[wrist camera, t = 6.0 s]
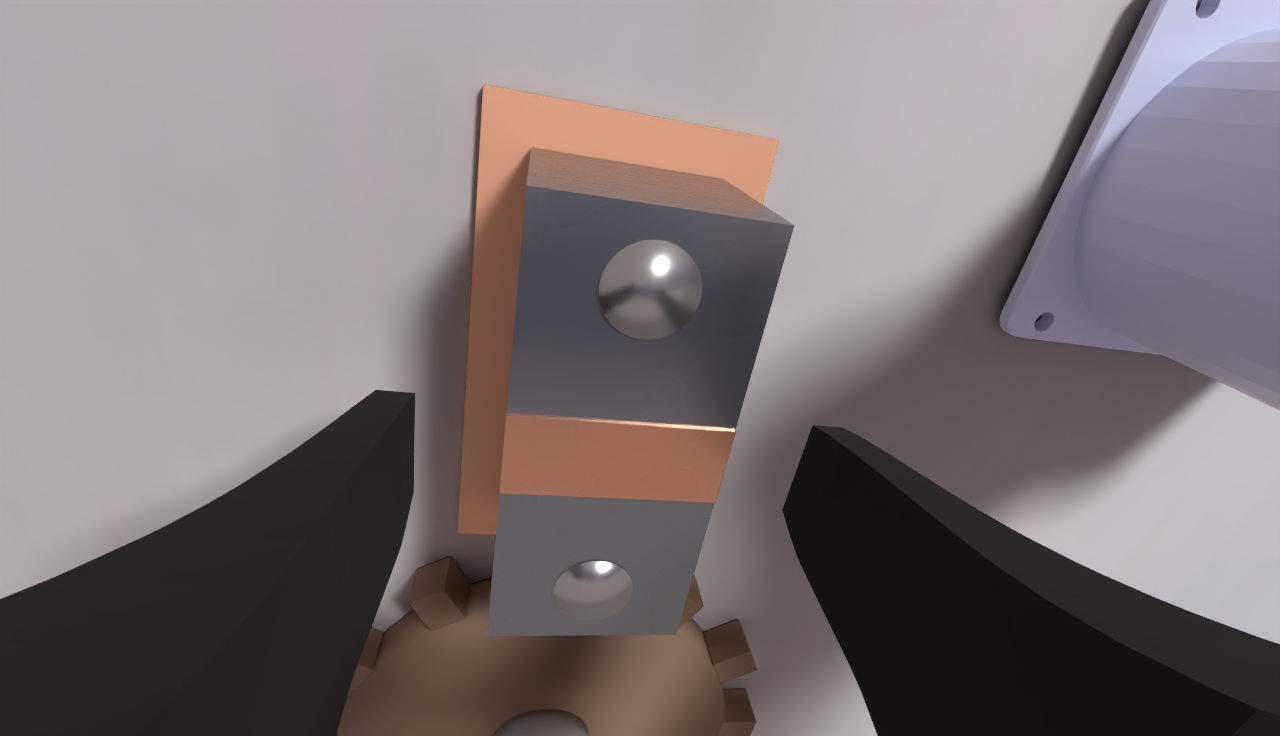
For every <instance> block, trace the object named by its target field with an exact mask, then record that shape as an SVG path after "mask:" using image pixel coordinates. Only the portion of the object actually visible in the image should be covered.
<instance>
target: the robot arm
mask: <svg viewBox="0 0 1280 736" xmlns="http://www.w3.org/2000/svg"><path fill="white" fill-rule="evenodd" d="M1197 2H1198V0H1150V2H1149V4H1148V6H1147V8H1146V10H1145V13H1144V15H1143V17H1142V19H1141V21H1140V23H1139V25H1138V27H1137V29H1136V31H1135V33H1134V36H1133V38H1132V40H1131V42H1130V44H1129V46H1128V48H1127V50H1126V52H1125V54H1124V57H1123V59H1122V61H1121V63H1120V65H1119V67H1118V69H1117V71H1116V73H1115V75H1114V77H1113V80H1112V82H1111V84H1110V86H1109V88H1108V90H1107V92H1106V94H1105V96H1104V98H1103V101H1102V103H1101V105H1100V107H1099V109H1098V111H1097V113H1096V115H1095V117H1094V119H1093V121H1092V124H1091V126H1090V128H1089V130H1088V132H1087V134H1086V136H1085V138H1084V140H1083V142H1082V145H1081V147H1080V149H1079V151H1078V153H1077V155H1076V157H1075V159H1074V161H1073V163H1072V165H1071V168H1070V170H1069V172H1068V174H1067V176H1066V178H1065V180H1064V182H1063V184H1062V186H1061V189H1060V191H1059V193H1058V195H1057V197H1056V199H1055V201H1054V203H1053V205H1052V207H1051V209H1050V212H1049V214H1048V216H1047V218H1046V220H1045V222H1044V224H1043V226H1042V228H1041V230H1040V233H1039V235H1038V237H1037V239H1036V241H1035V243H1034V245H1033V247H1032V249H1031V251H1030V253H1029V256H1028V258H1027V260H1026V262H1025V264H1024V266H1023V268H1022V270H1021V272H1020V274H1019V277H1018V279H1017V281H1016V283H1015V285H1014V287H1013V289H1012V291H1011V293H1010V295H1009V297H1008V300H1007V302H1006V304H1005V306H1004V308H1003V310H1002V312H1001V315H1000V319H999V321H1000V326H1001V328H1002V329H1003V330H1004V331H1006V332H1007V333H1009V334H1011V335H1013V336H1016V337H1020V338H1028V339H1036V340H1044V341H1052V342H1060V343H1069V344H1077V345H1085V346H1093V347H1101V348H1109V349H1117V350H1125V351H1133V352H1141V353H1150V354H1158V355H1164V356H1166V357H1168V358H1171V359H1173V360H1175V361H1177V362H1179V363H1181V364H1183V365H1185V366H1187V367H1189V368H1192V369H1194V370H1196V371H1198V372H1200V373H1202V374H1204V375H1206V376H1208V377H1211V378H1213V379H1215V380H1217V381H1219V382H1221V383H1223V384H1225V385H1227V386H1229V387H1232V388H1234V389H1236V390H1238V391H1240V392H1242V393H1244V394H1246V395H1248V396H1250V397H1253V398H1255V399H1257V400H1259V401H1261V402H1263V403H1265V404H1267V405H1269V406H1271V407H1274V408H1276V409H1278V410H1280V0H1202V1H1201V4H1200V8H1199V9H1198V10H1197V12H1196V9H1195V8H1196V5H1197ZM1040 315H1042V317H1041V318H1040V320H1039V321H1038V322H1037V323H1035V321H1036V319H1037V318H1038V317H1039V316H1040ZM414 425H415V393H406V392H394V391H382V390H375V391H374V392H372V393H371V394H370V395H368V396H367V397H366V398H364V399H363V400H361V401H360V402H359V403H357V404H356V405H355V406H353V407H352V408H351V409H349V410H348V411H347V412H345V413H344V414H343V415H341V416H340V417H339V418H337V419H336V420H335V421H333V422H332V423H331V424H329V425H328V426H327V427H325V428H324V429H323V430H321V431H320V432H319V433H317V434H316V435H314V436H313V437H312V438H310V439H309V440H307V441H306V442H305V443H303V444H302V445H300V446H299V447H298V448H296V449H295V450H293V451H292V452H291V453H289V454H288V455H286V456H284V457H283V458H281V459H280V460H278V461H277V462H275V463H274V464H272V465H270V466H269V467H267V468H266V469H264V470H263V471H261V472H260V473H258V474H256V475H255V476H253V477H252V478H250V479H249V480H247V481H246V482H244V483H242V484H241V485H239V486H238V487H236V488H234V489H233V490H231V491H229V492H227V493H226V494H224V495H222V496H221V497H219V498H217V499H215V500H213V501H212V502H210V503H208V504H206V505H205V506H203V507H201V508H199V509H197V510H195V511H193V512H191V513H189V514H188V515H186V516H184V517H182V518H180V519H178V520H176V521H174V522H172V523H170V524H169V525H167V526H165V527H163V528H161V529H159V530H157V531H155V532H153V533H151V534H149V535H147V536H144V537H142V538H140V539H138V540H136V541H133V542H131V543H129V544H127V545H125V546H122V547H120V548H118V549H116V550H114V551H111V552H109V553H107V554H105V555H103V556H100V557H98V558H96V559H94V560H92V561H89V562H87V563H85V564H83V565H81V566H78V567H76V568H74V569H72V570H70V571H67V572H65V573H63V574H61V575H59V576H56V577H54V578H51V579H49V580H47V581H44V582H42V583H39V584H37V585H34V586H32V587H29V588H27V589H24V590H22V591H19V592H17V593H14V594H12V595H9V596H7V597H5V598H2V599H0V736H336V735H337V731H338V727H339V723H340V719H341V716H342V712H343V708H344V704H345V701H346V698H347V695H348V692H349V688H350V685H351V682H352V679H353V676H354V673H355V670H356V667H357V665H358V662H359V659H360V656H361V654H362V651H363V648H364V646H365V643H366V640H367V638H368V635H369V632H370V629H371V627H372V624H373V621H374V619H375V616H376V613H377V610H378V608H379V605H380V602H381V600H382V597H383V594H384V592H385V589H386V586H387V583H388V581H389V578H390V575H391V572H392V570H393V567H394V564H395V561H396V559H397V556H398V553H399V550H400V547H401V544H402V540H403V536H404V532H405V528H406V523H407V519H408V514H409V510H410V505H411V501H412V497H413V492H414ZM782 510H783V513H784V517H785V520H786V523H787V527H788V530H789V534H790V537H791V540H792V543H793V546H794V548H795V551H796V554H797V557H798V559H799V562H800V564H801V566H802V568H803V570H804V572H805V574H806V577H807V579H808V581H809V583H810V585H811V587H812V589H813V591H814V593H815V595H816V597H817V599H818V602H819V604H820V606H821V608H822V610H823V612H824V614H825V616H826V618H827V620H828V622H829V624H830V626H831V628H832V630H833V632H834V634H835V636H836V638H837V640H838V642H839V644H840V646H841V648H842V650H843V653H844V655H845V657H846V659H847V661H848V663H849V665H850V667H851V669H852V672H853V674H854V676H855V678H856V681H857V683H858V685H859V687H860V690H861V692H862V695H863V697H864V700H865V703H866V705H867V708H868V711H869V714H870V716H871V719H872V722H873V724H874V727H875V730H876V732H877V735H878V736H1280V644H1277V643H1274V642H1271V641H1268V640H1265V639H1262V638H1259V637H1256V636H1254V635H1251V634H1248V633H1245V632H1243V631H1240V630H1237V629H1235V628H1232V627H1229V626H1227V625H1224V624H1221V623H1219V622H1216V621H1213V620H1211V619H1208V618H1205V617H1202V616H1200V615H1197V614H1194V613H1192V612H1189V611H1187V610H1184V609H1182V608H1179V607H1177V606H1174V605H1172V604H1170V603H1167V602H1165V601H1162V600H1160V599H1157V598H1155V597H1152V596H1150V595H1148V594H1145V593H1143V592H1141V591H1139V590H1136V589H1134V588H1132V587H1129V586H1127V585H1125V584H1123V583H1120V582H1118V581H1116V580H1113V579H1111V578H1109V577H1107V576H1104V575H1102V574H1100V573H1098V572H1096V571H1093V570H1091V569H1089V568H1087V567H1085V566H1083V565H1081V564H1079V563H1076V562H1074V561H1072V560H1070V559H1068V558H1066V557H1064V556H1062V555H1061V554H1059V553H1057V552H1055V551H1053V550H1051V549H1049V548H1047V547H1045V546H1043V545H1041V544H1039V543H1037V542H1035V541H1033V540H1031V539H1029V538H1027V537H1025V536H1023V535H1022V534H1020V533H1018V532H1016V531H1014V530H1012V529H1011V528H1009V527H1007V526H1005V525H1004V524H1002V523H1000V522H998V521H997V520H995V519H993V518H991V517H990V516H988V515H986V514H985V513H983V512H981V511H979V510H978V509H976V508H974V507H973V506H971V505H969V504H968V503H966V502H964V501H963V500H961V499H959V498H958V497H956V496H954V495H953V494H951V493H950V492H948V491H946V490H945V489H943V488H942V487H940V486H938V485H937V484H935V483H934V482H932V481H930V480H929V479H927V478H926V477H924V476H922V475H921V474H919V473H918V472H916V471H915V470H913V469H912V468H910V467H908V466H907V465H905V464H904V463H902V462H900V461H899V460H897V459H896V458H894V457H893V456H891V455H889V454H888V453H886V452H885V451H883V450H881V449H880V448H878V447H877V446H875V445H873V444H872V443H870V442H868V441H866V440H865V439H863V438H861V437H859V436H858V435H856V434H854V433H852V432H850V431H848V430H846V429H844V428H840V427H827V426H815V425H813V426H812V429H811V432H810V435H809V437H808V440H807V443H806V446H805V449H804V451H803V454H802V457H801V460H800V462H799V465H798V468H797V471H796V473H795V476H794V479H793V482H792V484H791V487H790V490H789V493H788V496H787V498H786V501H785V504H784V507H783V509H782Z"/></svg>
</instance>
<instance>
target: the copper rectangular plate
mask: <svg viewBox="0 0 1280 736" xmlns="http://www.w3.org/2000/svg"><path fill="white" fill-rule="evenodd" d="M778 144H779V140H776V139H771V138H765V137H760V136H755V135H749V134H744V133H739V132H734V131H728V130H723V129H718V128H712V127H707V126H702V125H696V124H691V123H686V122H680V121H675V120H670V119H664V118H659V117H654V116H648V115H643V114H638V113H632V112H627V111H622V110H616V109H611V108H606V107H601V106H595V105H590V104H585V103H579V102H574V101H569V100H563V99H558V98H553V97H547V96H542V95H537V94H531V93H526V92H521V91H515V90H510V89H505V88H499V87H494V86H489V85H483V97H482V114H481V131H480V149H479V166H478V184H477V201H476V218H475V236H474V253H473V270H472V288H471V305H470V323H469V340H468V357H467V375H466V392H465V409H464V427H463V444H462V461H461V479H460V496H459V514H458V531H457V534H482V535H496V526H497V514H498V503H499V491H500V480H501V469H502V457H503V446H504V435H505V423H506V412H507V401H508V389H509V378H510V366H511V355H512V344H513V332H514V321H515V309H516V298H517V287H518V275H519V264H520V253H521V241H522V230H523V218H524V207H525V196H526V185H527V176H528V168H529V160H530V152H531V147H532V148H539V149H545V150H551V151H557V152H563V153H569V154H575V155H581V156H587V157H593V158H600V159H606V160H612V161H618V162H624V163H630V164H636V165H642V166H648V167H654V168H661V169H667V170H673V171H679V172H685V173H691V174H697V175H703V176H709V177H715V178H722V179H724V180H726V181H727V182H729V183H730V184H732V185H733V186H735V187H736V188H738V189H739V190H741V191H743V192H744V193H746V194H747V195H749V196H750V197H752V198H753V199H755V200H756V201H758V202H759V203H761V204H763V201H764V197H765V193H766V189H767V185H768V182H769V178H770V174H771V170H772V167H773V163H774V159H775V155H776V152H777V148H778Z"/></svg>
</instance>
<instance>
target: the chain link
mask: <svg viewBox="0 0 1280 736" xmlns="http://www.w3.org/2000/svg"><path fill="white" fill-rule="evenodd" d="M793 228H794V225H793V224H791V223H790V222H788V221H787V220H785V219H784V218H782V217H781V216H779V215H777V214H776V213H774V212H773V211H771V210H770V209H768V208H767V207H765V206H764V205H762V204H761V203H759V202H758V201H756V200H755V199H753V198H752V197H750V196H749V195H747V194H746V193H744V192H743V191H741V190H739V189H738V188H736V187H735V186H733V185H732V184H730V183H729V182H727V181H726V180H724V179H722V178H715V177H709V176H703V175H697V174H691V173H685V172H679V171H673V170H667V169H661V168H654V167H648V166H642V165H636V164H630V163H624V162H618V161H612V160H606V159H600V158H593V157H587V156H581V155H575V154H569V153H563V152H557V151H551V150H545V149H539V148H532V147H531V152H530V160H529V168H528V176H527V185H526V196H525V207H524V218H523V230H522V241H521V253H520V264H519V275H518V287H517V298H516V309H515V321H514V332H513V344H512V355H511V366H510V378H509V389H508V401H507V412H506V423H505V435H504V446H503V457H502V469H501V480H500V491H499V503H498V514H497V526H496V537H495V549H494V560H493V571H492V583H491V594H490V606H489V617H488V628H487V636H577V635H676V633H677V630H678V626H679V623H680V619H681V616H682V612H683V609H684V605H685V602H686V598H687V595H688V592H689V588H690V585H691V581H692V578H693V574H694V571H695V567H696V564H697V560H698V557H699V553H700V550H701V546H702V543H703V540H704V536H705V533H706V529H707V526H708V522H709V519H710V515H711V512H712V508H713V505H714V503H715V502H716V499H717V495H718V492H719V488H720V485H721V481H722V478H723V474H724V471H725V468H726V464H727V461H728V457H729V454H730V450H731V447H732V443H733V440H734V437H735V433H736V431H735V429H736V425H737V422H738V418H739V415H740V411H741V408H742V404H743V401H744V398H745V394H746V391H747V387H748V384H749V380H750V377H751V373H752V370H753V366H754V363H755V359H756V356H757V353H758V349H759V346H760V342H761V339H762V335H763V332H764V328H765V325H766V321H767V318H768V314H769V311H770V307H771V304H772V301H773V297H774V294H775V290H776V287H777V283H778V280H779V276H780V273H781V269H782V266H783V262H784V259H785V256H786V252H787V249H788V245H789V242H790V238H791V235H792V231H793Z"/></svg>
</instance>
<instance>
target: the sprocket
mask: <svg viewBox="0 0 1280 736" xmlns="http://www.w3.org/2000/svg"><path fill="white" fill-rule="evenodd" d="M491 583H492V579H490V580H486V581H481V582H478V583H475V584H472V585H471V584H470V582H469V581H468V580H467V578H466V577H465V575H464V574H463V573H462V571H461V570H460V569H459V567H458V566H457V565H456V563H455V562H454V561H453V559H452V558H451V556H450V557H447V558H445V559H442V560H439V561H437V562H434V563H432V564H429V565H426V566H424V567H421V568H418V569H417V572H416V576H415V580H414V584H413V588H412V592H411V597H410V601H409V605H410V606H411V607H412V608H413V611H412V612H410V613H408V614H407V615H406V616H404V617H403V618H402V619H400V620H399V621H398V622H396V623H395V624H394V625H392V626H391V627H390V628H389V629H388V630H387V631H386V632H385V633H384V634H383V632H381V631H378V630H375V629H372V628H371V629H370V632H369V635H368V638H367V640H366V643H365V646H364V648H363V651H362V654H361V656H360V659H359V662H358V665H357V667H356V670H355V673H354V676H353V679H352V682H351V685H350V688H349V689H350V690H349V694H348V697H347V698H346V701H345V704H344V708H343V712H342V716H341V719H340V723H339V727H338V731H337V735H336V736H750V735H751V733H752V730H753V728H754V725H755V723H756V720H755V717H754V714H753V711H752V708H751V705H750V701H749V698H748V695H747V692H746V689H723V688H722V684H721V682H722V683H723V682H726V681H728V680H731V679H734V678H737V677H739V676H742V675H745V674H747V673H750V672H753V671H756V670H757V668H756V665H755V663H754V660H753V657H752V654H751V651H750V648H749V646H748V643H747V640H746V637H745V635H744V632H743V630H742V628H741V625H740V623H739V620H735V621H733V622H730V623H727V624H725V625H722V626H719V627H716V628H714V629H711V630H708V631H706V632H704V633H703V632H702V630H701V628H700V627H699V626H698V625H697V624H696V622H695V621H694V620H693V619H692V618H691V617H693V616H694V615H695V614H696V613H697V612H698V611H699V610H700V609H701V608H702V607H703V603H702V599H701V596H700V592H699V589H698V586H697V582H696V579H695V576H694V574H693V578H692V581H691V585H690V588H689V592H688V595H687V598H686V602H685V605H684V609H683V612H682V616H681V619H680V623H679V626H678V630H677V633H676V635H577V636H487V628H488V617H489V606H490V594H491ZM704 634H705V635H704ZM720 680H721V681H720Z"/></svg>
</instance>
